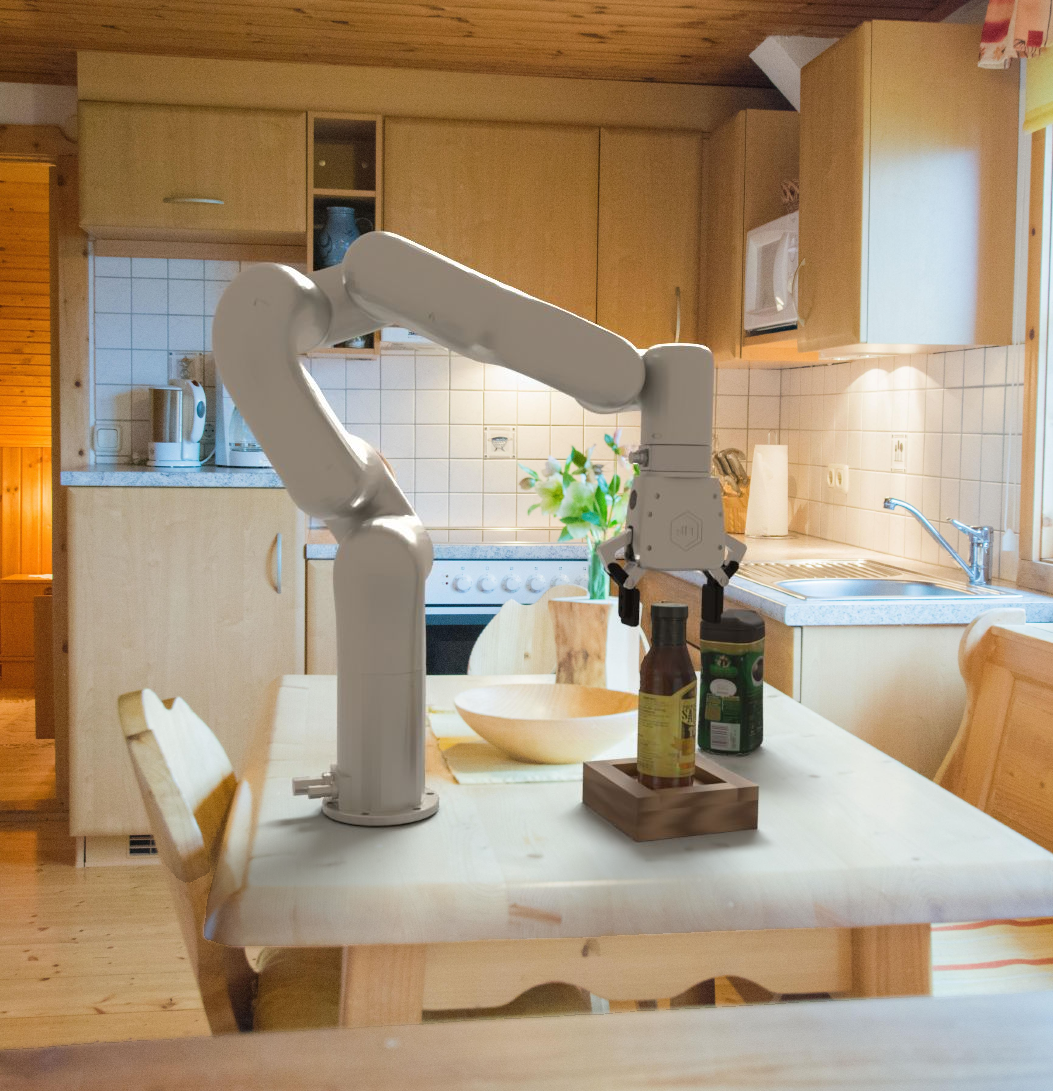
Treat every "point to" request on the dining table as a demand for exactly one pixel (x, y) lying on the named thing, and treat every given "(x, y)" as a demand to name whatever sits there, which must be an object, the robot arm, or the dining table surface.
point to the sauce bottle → (667, 703)
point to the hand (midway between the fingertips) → (670, 623)
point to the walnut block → (670, 800)
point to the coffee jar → (731, 683)
